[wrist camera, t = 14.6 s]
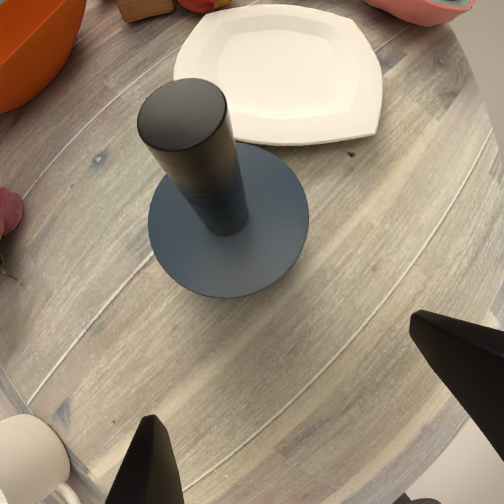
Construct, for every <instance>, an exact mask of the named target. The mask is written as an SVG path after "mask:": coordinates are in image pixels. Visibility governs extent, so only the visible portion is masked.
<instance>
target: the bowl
mask: <svg viewBox="0 0 504 504" xmlns="http://www.w3.org/2000/svg"><path fill="white" fill-rule="evenodd" d="M85 6H86V0H6V1H4V2H3V3H2V4H1V5H0V114H1V113H4V112H7V111H12V110H15V109H17V108H19V107H21V106H23V105H24V104H26V103H27V102H29V101H30V100H31V99H33V98H34V97H35V96H36V95H37V94H39V93H40V92H41V91H42V90H43V89H44V88H45V87H46V86H47V85H48V84H49V83H50V82H51V81H52V80H53V79H54V78H55V76H56V75H57V74H58V73H59V71H60V70H61V69H62V67H63V66H64V64H65V63H66V61H67V59H68V58H69V56H70V53H71V51H72V47H73V43H74V41H75V38H76V36H77V33H78V31H79V28H80V25H81V22H82V18H83V15H84V11H85Z"/></svg>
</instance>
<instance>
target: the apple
mask: <svg viewBox="0 0 504 504" xmlns="http://www.w3.org/2000/svg"><path fill="white" fill-rule="evenodd" d="M177 1H178V2H179V3H180V4H181V5H182V6H184V7H185V8H187V9H189V10H191V11H193V12H197V13H201V14H208V13H211V12H212V11H214V10H216V9H218V8H220V7H222V6H223V5H228V4H229V3H230V2H231V1H232V0H177Z"/></svg>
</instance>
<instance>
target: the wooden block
mask: <svg viewBox="0 0 504 504" xmlns="http://www.w3.org/2000/svg"><path fill="white" fill-rule="evenodd" d="M175 2H176V0H116V3H117V5H118V8H119V10H120V13H121V15H122V18H123V20H124V21H125V22H126V23H129V22H133V21H136V20H140V19H144V18H147V17H151V16H156V15H160V14H164V13H169V12H172V11H173V10H174V9H175Z"/></svg>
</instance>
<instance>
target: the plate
mask: <svg viewBox="0 0 504 504" xmlns="http://www.w3.org/2000/svg"><path fill="white" fill-rule="evenodd" d="M184 78H199V79H204V80H207V81H209V82H212V83H213V84H215V85H216V86H217V87H218V88H220V89H221V91H222V92H223V93H224V95H225V97H226V100H227V105H228V110H229V115H230V120H231V125H232V130H233V135H234V140H237V141H242V142H247V143H253V144H262V145H272V146H305V145H314V144H325V143H332V142H337V141H344V140H350V139H356V138H361V137H367V136H372V135H376V132H377V128H378V124H379V119H380V114H381V107H382V101H383V77H382V69H381V67H380V64H379V62H378V59H377V57H376V55H375V53H374V51H373V49H372V47H371V46H370V44H369V42H368V41H367V39H366V38H365V36H364V35H363V33H362V32H361V31H360V29H359V28H358V27H357V25H356V24H355V23H354V22H353V20H352V19H349V18H346V17H342V16H339V15H336V14H332V13H329V12H325V11H321V10H317V9H312V8H307V7H301V6H295V5H285V4H261V5H250V6H242V7H236V8H231V9H226V10H221V11H216V12H212V13H208V14H206V15H205V16H204V17H203V18H202V19H201V20H200V22H199V23H198V24H197V25H196V26H195V28H194V29H193V30H192V32H191V33H190V34H189V36H188V37H187V39H186V41H185V42H184V44H183V46H182V47H181V49H180V51H179V54H178V56H177V58H176V61H175V67H174V74H173V81H175V80H179V79H184Z"/></svg>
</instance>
